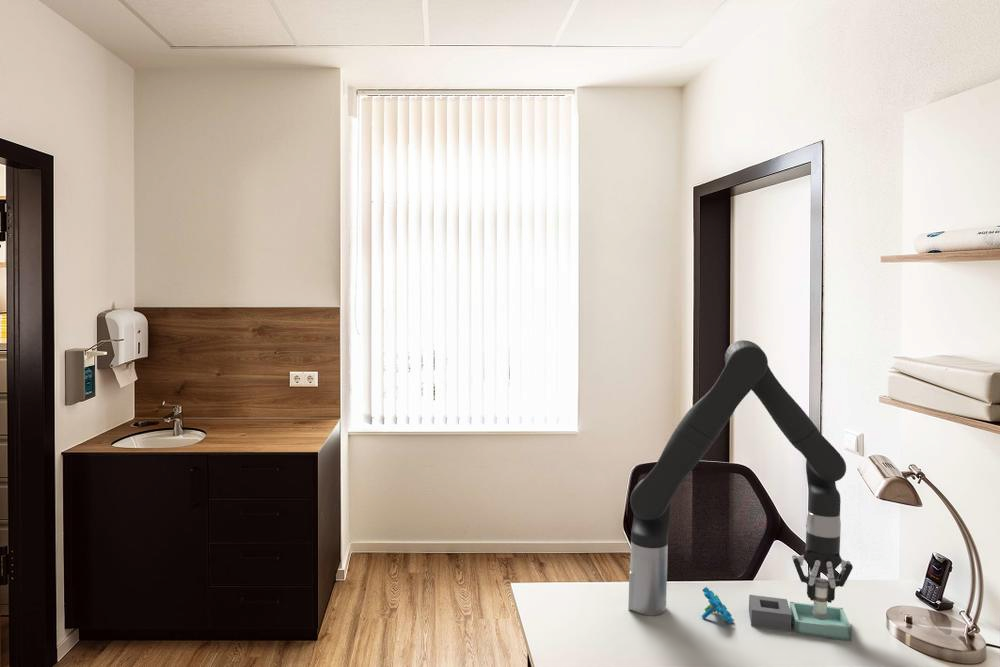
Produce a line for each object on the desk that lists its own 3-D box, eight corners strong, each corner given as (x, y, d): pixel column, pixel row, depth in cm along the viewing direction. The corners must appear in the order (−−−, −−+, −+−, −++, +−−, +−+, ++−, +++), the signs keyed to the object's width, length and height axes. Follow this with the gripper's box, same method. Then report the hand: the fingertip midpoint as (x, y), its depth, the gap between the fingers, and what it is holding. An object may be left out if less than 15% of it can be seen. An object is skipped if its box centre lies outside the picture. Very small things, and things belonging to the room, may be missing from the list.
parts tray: (795, 633, 170) (795, 621, 170) (789, 613, 181) (790, 601, 180) (851, 641, 167) (851, 628, 166) (842, 619, 177) (842, 608, 177)
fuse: (813, 618, 172) (814, 582, 172) (811, 612, 175) (812, 577, 175) (828, 620, 171) (829, 584, 171) (826, 614, 175) (827, 578, 174)
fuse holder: (751, 625, 174) (751, 609, 173) (748, 609, 182) (749, 594, 182) (790, 630, 171) (791, 614, 171) (786, 614, 180) (786, 599, 180)
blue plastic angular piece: (736, 625, 170) (706, 591, 173) (717, 640, 171) (687, 606, 174) (734, 611, 181) (706, 579, 183) (717, 626, 182) (689, 594, 184)
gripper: (793, 533, 170) (791, 603, 171) (858, 539, 167) (855, 610, 168) (790, 523, 178) (787, 590, 179) (852, 528, 174) (849, 597, 175)
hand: (820, 599), depth 173 cm, fingers closed on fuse, 3 cm apart
